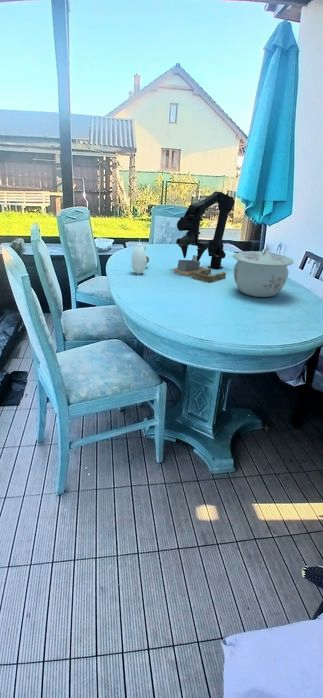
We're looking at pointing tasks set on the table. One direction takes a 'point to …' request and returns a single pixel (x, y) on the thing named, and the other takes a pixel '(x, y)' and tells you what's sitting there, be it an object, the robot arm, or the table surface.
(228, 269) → the table surface
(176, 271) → the tray
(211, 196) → the robot arm
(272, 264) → the chamber pot
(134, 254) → the sauce bottle
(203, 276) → the dock
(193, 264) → the caddy
